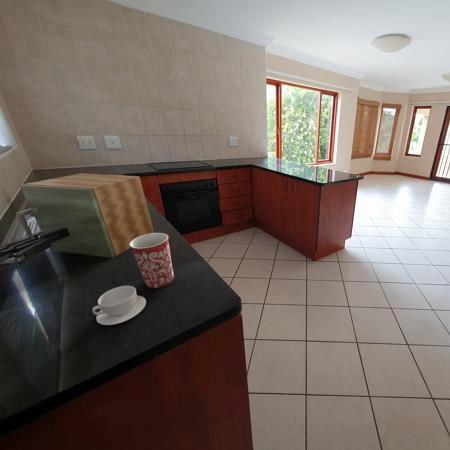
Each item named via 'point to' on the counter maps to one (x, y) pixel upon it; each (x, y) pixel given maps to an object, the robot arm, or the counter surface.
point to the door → (68, 219)
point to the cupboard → (113, 204)
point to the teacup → (118, 305)
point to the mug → (153, 259)
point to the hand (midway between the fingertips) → (66, 231)
